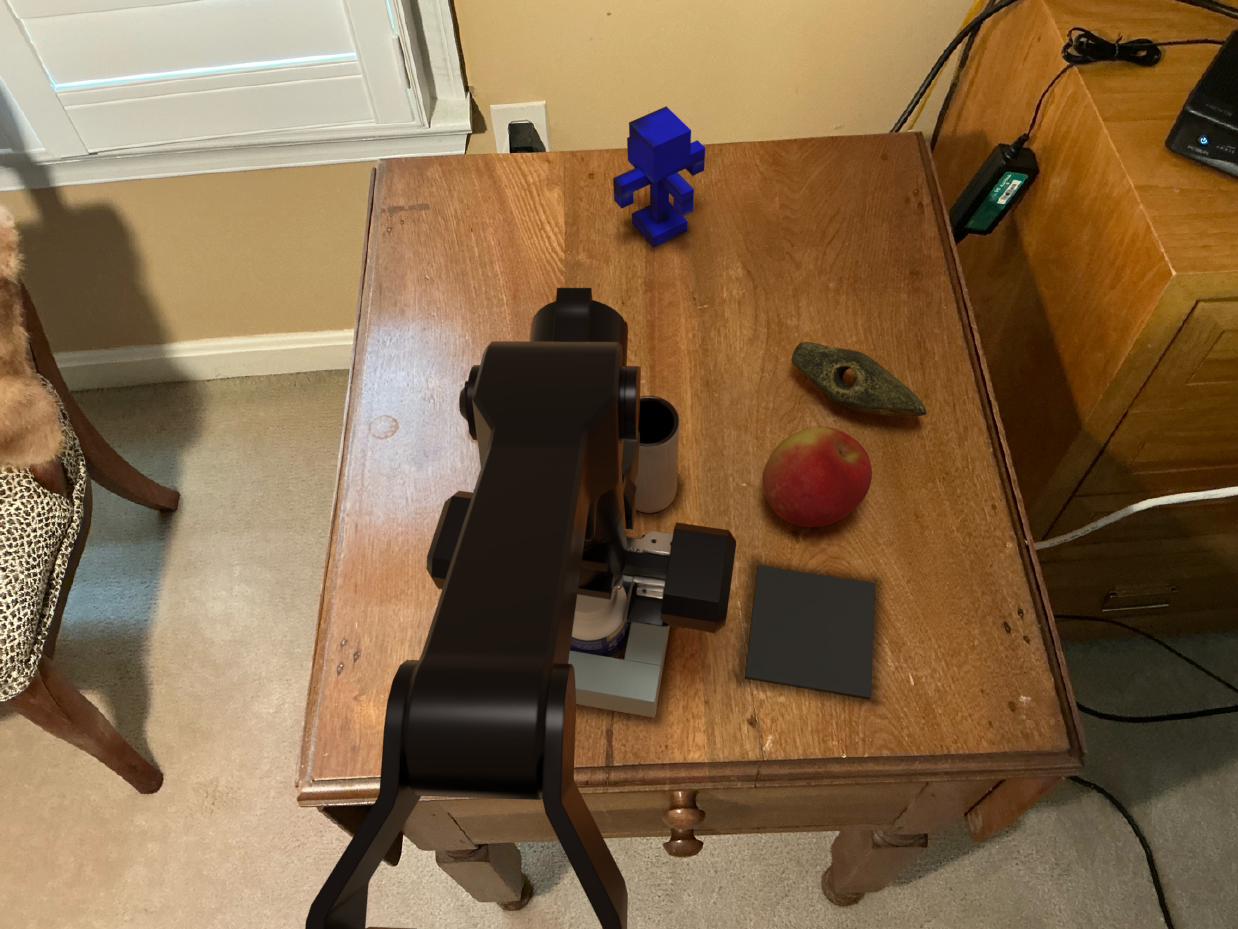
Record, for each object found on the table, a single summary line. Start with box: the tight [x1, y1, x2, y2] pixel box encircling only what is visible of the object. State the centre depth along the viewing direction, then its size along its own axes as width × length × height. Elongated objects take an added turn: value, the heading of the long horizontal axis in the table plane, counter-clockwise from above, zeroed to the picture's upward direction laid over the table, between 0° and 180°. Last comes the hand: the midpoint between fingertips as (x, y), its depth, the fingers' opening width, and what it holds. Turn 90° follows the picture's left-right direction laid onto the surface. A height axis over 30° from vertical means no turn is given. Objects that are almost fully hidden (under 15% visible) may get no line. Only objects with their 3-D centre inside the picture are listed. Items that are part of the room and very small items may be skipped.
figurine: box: [612, 105, 706, 248], centre depth 83 cm, size 8×8×12 cm
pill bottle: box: [570, 586, 630, 659], centre depth 63 cm, size 5×5×9 cm
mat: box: [744, 565, 876, 700], centre depth 66 cm, size 9×9×1 cm
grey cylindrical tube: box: [635, 395, 680, 514], centre depth 69 cm, size 4×4×10 cm
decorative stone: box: [790, 341, 928, 418], centre depth 75 cm, size 11×8×5 cm
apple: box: [762, 426, 873, 528], centre depth 68 cm, size 8×8×8 cm
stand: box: [568, 550, 671, 719], centre depth 65 cm, size 11×11×4 cm
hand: (591, 609), depth 62 cm, fingers closed on pill bottle, 5 cm apart
